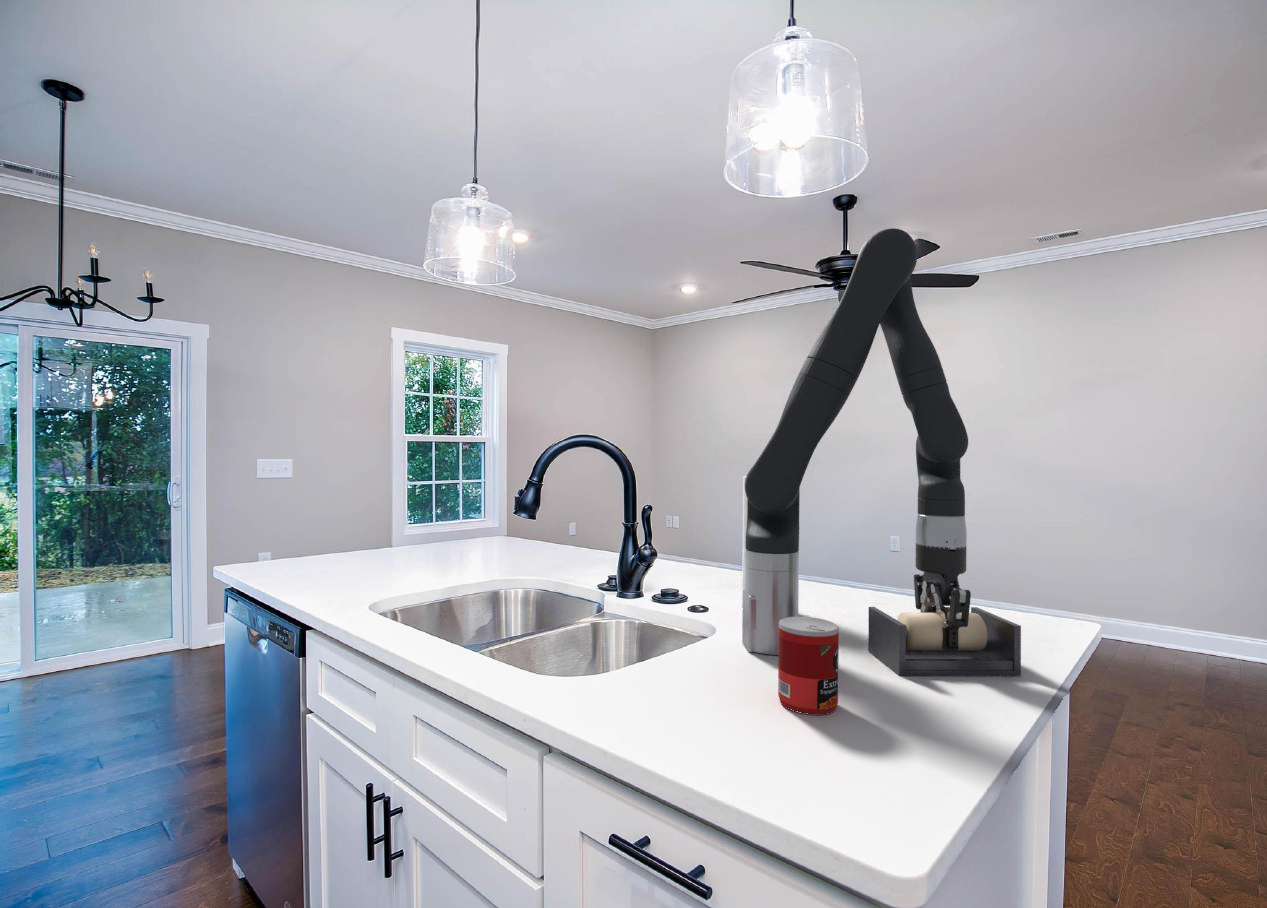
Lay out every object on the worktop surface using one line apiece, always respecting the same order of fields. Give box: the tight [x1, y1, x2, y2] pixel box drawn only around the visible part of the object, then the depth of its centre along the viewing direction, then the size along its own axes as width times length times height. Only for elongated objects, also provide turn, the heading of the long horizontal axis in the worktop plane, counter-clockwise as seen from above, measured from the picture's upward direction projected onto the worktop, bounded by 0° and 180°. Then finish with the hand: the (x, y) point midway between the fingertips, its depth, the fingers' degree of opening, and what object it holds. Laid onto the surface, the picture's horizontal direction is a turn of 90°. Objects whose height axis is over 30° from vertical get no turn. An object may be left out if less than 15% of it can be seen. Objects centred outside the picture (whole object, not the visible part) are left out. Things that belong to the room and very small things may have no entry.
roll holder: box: [867, 606, 1022, 677], centre depth 101 cm, size 19×12×8 cm, turn 91°
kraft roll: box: [896, 612, 987, 651], centre depth 102 cm, size 14×6×6 cm, turn 91°
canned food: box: [777, 616, 840, 715], centre depth 84 cm, size 8×8×11 cm
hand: (940, 644), depth 101 cm, fingers closed on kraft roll, 6 cm apart
